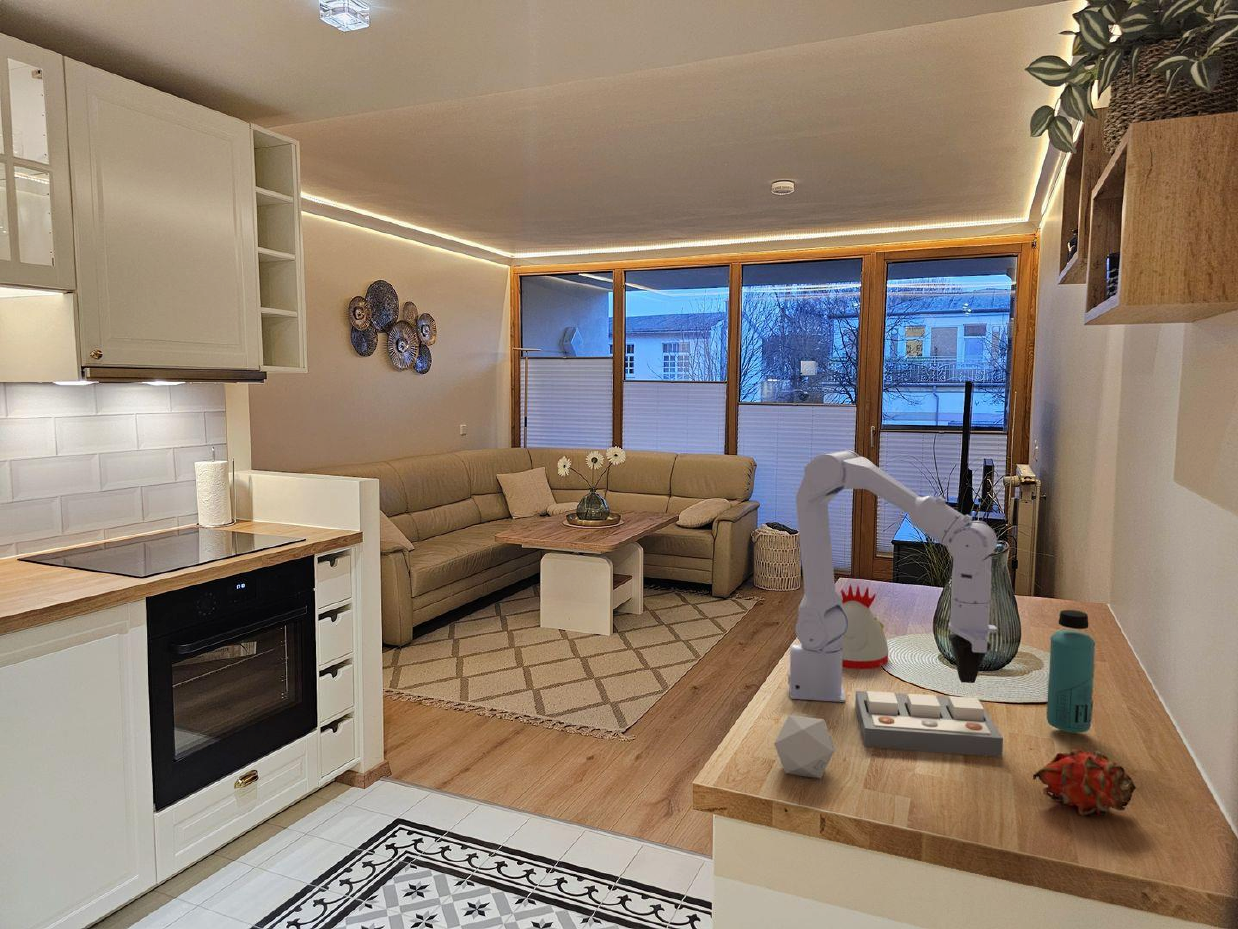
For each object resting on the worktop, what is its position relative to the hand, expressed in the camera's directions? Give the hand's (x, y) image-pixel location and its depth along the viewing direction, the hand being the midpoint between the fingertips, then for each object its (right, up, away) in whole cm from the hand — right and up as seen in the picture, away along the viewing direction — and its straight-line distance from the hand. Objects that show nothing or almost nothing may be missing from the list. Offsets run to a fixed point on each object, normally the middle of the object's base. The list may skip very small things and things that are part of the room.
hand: (966, 681), depth 131 cm
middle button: (-6, -5, +2) cm, 9 cm away
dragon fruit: (+6, -11, -22) cm, 26 cm away
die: (-29, -10, -12) cm, 33 cm away
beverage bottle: (+16, -9, 0) cm, 18 cm away
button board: (-7, -8, +1) cm, 11 cm away
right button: (0, -6, +1) cm, 6 cm away
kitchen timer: (-8, -5, +35) cm, 37 cm away
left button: (-13, -5, +3) cm, 14 cm away
